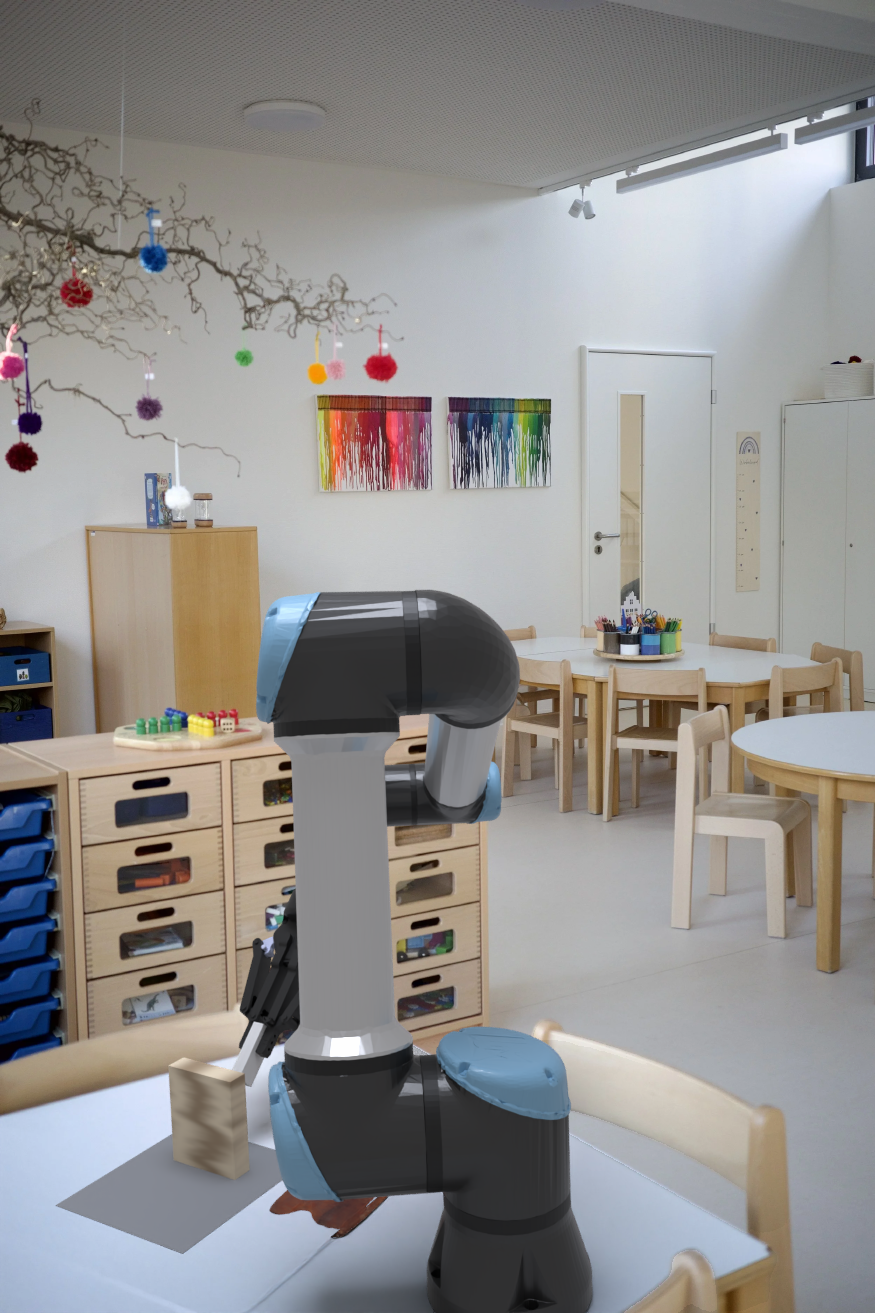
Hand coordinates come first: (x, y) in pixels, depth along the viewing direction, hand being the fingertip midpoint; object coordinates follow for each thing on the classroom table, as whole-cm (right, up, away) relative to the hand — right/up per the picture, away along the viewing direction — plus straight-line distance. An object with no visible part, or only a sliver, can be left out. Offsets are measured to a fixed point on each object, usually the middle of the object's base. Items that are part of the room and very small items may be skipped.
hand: (240, 1081), depth 136 cm
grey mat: (-5, -9, -7) cm, 12 cm away
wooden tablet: (+15, -9, -4) cm, 18 cm away
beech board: (-3, -8, -4) cm, 9 cm away
